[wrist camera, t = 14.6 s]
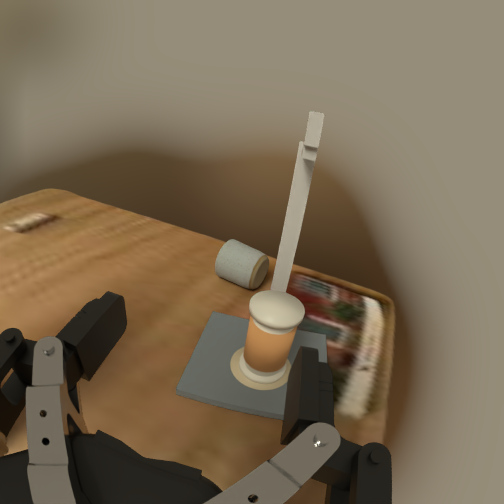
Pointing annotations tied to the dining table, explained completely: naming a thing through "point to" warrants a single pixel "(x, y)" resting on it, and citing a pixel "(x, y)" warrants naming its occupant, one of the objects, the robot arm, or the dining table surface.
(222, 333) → the stand
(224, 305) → the dining table surface
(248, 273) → the ceramic mug
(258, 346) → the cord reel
